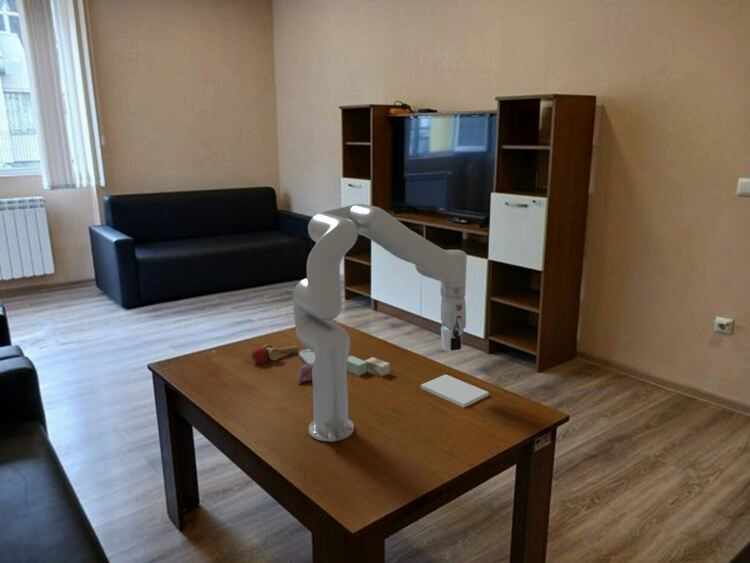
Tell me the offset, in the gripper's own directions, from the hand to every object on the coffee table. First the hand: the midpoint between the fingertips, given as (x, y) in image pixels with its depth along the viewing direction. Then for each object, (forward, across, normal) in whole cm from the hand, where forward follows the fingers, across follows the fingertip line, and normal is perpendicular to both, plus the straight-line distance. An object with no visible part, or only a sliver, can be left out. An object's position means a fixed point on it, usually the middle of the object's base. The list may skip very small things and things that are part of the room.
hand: (451, 345), depth 184 cm
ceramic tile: (+16, -1, -1) cm, 16 cm away
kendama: (+16, +42, +51) cm, 68 cm away
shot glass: (+1, 0, 0) cm, 1 cm away
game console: (+16, +35, +38) cm, 54 cm away
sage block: (+16, +24, +26) cm, 38 cm away
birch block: (+16, +20, +19) cm, 32 cm away
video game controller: (+16, +19, +41) cm, 48 cm away
